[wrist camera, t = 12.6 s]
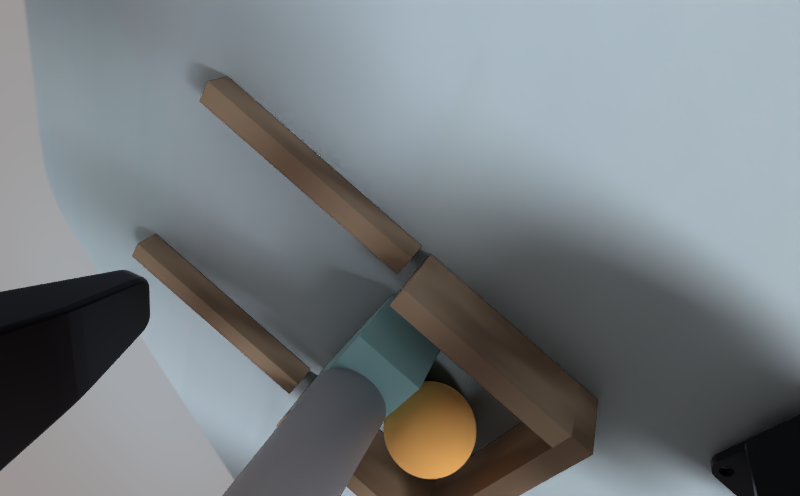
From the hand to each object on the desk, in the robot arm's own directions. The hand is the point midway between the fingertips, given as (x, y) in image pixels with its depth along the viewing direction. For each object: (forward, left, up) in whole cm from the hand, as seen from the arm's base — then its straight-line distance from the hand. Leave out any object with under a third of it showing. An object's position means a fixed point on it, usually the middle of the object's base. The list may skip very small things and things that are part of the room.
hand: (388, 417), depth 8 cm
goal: (+1, +11, -13) cm, 17 cm away
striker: (-1, +11, -13) cm, 17 cm away
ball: (-5, +11, -11) cm, 16 cm away
